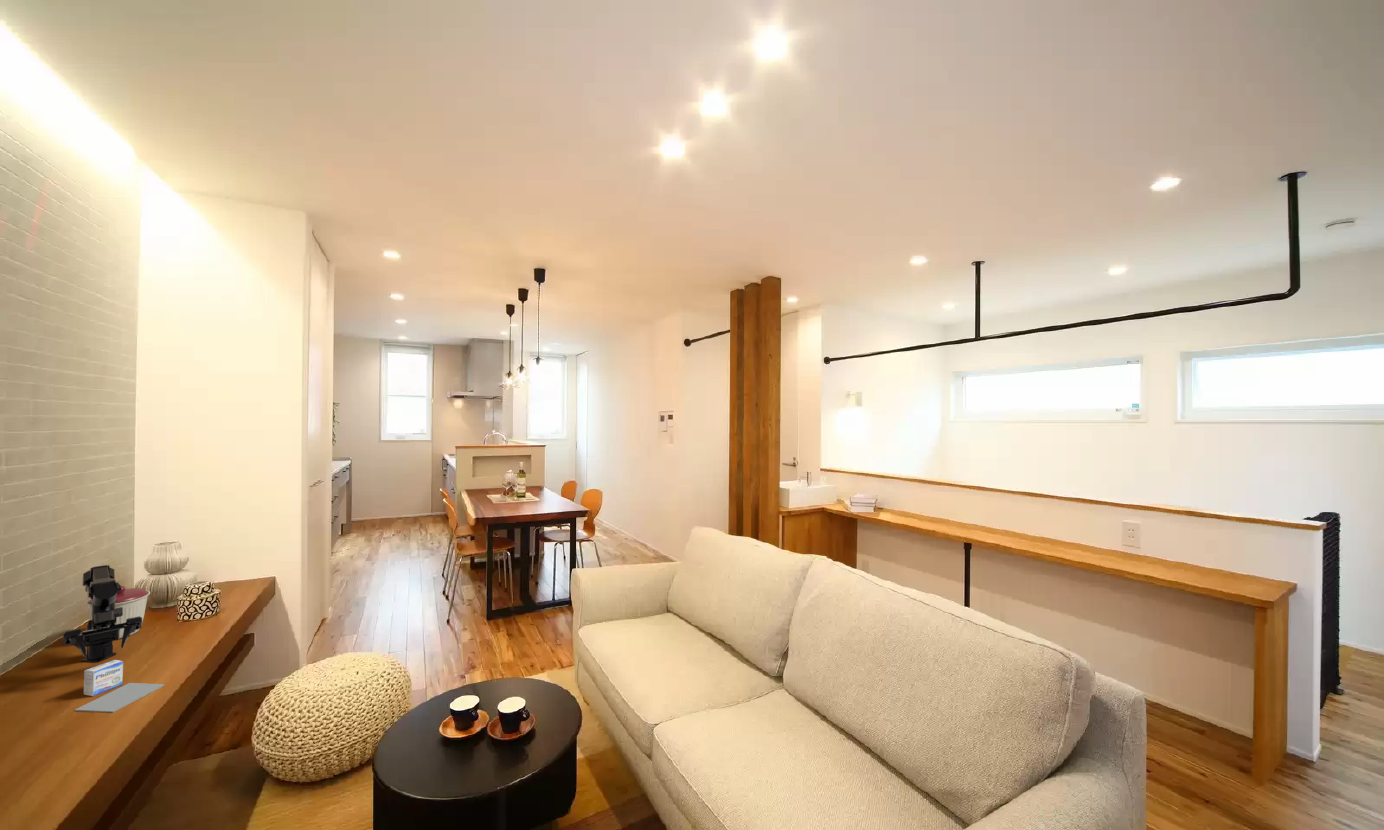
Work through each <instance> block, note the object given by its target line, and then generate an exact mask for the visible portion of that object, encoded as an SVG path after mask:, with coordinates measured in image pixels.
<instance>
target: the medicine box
mask: <svg viewBox="0 0 1384 830" xmlns="http://www.w3.org/2000/svg"><path fill="white" fill-rule="evenodd" d="M83 672H84V674H83V678H84V679H83V695H84V696H90V697H95V696H99V695H100V694H102V693H105V692H107V691H110V690H112V689H115V688H117V687H118V688H119V687H121V686H123V678H124V677H123V674H124V673H123V672H124V661H123V660H119V659H113V660H110V661H107V662H104V663H102V664H98V665H96V666H93V667H90V668H87V669H85V670H84V671H83Z"/></svg>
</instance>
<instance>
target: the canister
mask: <svg viewBox="0 0 1384 830" xmlns="http://www.w3.org/2000/svg"><path fill="white" fill-rule="evenodd" d="M150 594H151V591H150V590H148V589H144V588H140V587H138V588H137V587H136V588H132V587H131V588H130V587H129V588H126V586H123V585H121V590H120V591H119V592H118V593H117V596H116V600H115V609H116V608H120V607H123V615H122V616H121V617H116V624H121V623H126V619H129V618H134V617H139V616H140V617H142V623H143V621H144V618H145V614H146V613H145V611H146V607H147V602H148V596H149V595H150ZM85 605H86V606H87V607H88V615H89V616H88V617H89V621H90V620H92V601H91V599H90V598H89V599H88V600H86V601H85ZM142 626H143V624H142V625H141V627H142ZM138 631H140V629H138V630H135V632H133V633H131V634H130V635H129V636H132V635H134V634H135V633H137V632H138ZM123 632H124V628H123V629H120V631H119V638H118V639H119V640H120V639H122V638H123ZM118 639H117V640H118Z"/></svg>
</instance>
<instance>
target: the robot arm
mask: <svg viewBox="0 0 1384 830" xmlns="http://www.w3.org/2000/svg"><path fill="white" fill-rule="evenodd" d="M89 569H90V570H87V571H86V572H84V573H83V574H82V582H81V583H82V585H81V586H83V587H84V591H85V592H86V593H87V595H86V596H87V598H89V599H91V601H92V620H90V619H89V621H88V623H87V624H86V630H83V631H82V627H79V628H73V629H70V630H69V629H68V630H65V631H64V632H63V634H62V635H63V636H62V646H65V645H69V646H75V648H76V649H78V650H79V651H80V653H81V655H82V656H83V657H84V658H83V659H81V662H87V663H89V662H91V663H93V662H94V663H98V662H101V661H103V660H106V659H108V658H111V657H113V656H115V655H117V652H113V651H114V645H113V641H117V640H118V638H119V631H120V629H123V628H124V632H123V638H121V639H122V640H121V644H120V645H121V646H120V649H123V648H124V646H125V644H126V642H127V641H128V638H129V636H131V635H130V634H131V633H133V632H135V630H138V629H139V630H140V629H141V628H142V626H143V622H142V617H140V616H139V617H134V618H129V619H126V623H121V624H116V617H121V616H122V615H123V607H120V608H116V609H115V600H116V596H117V593H118V592H119V591H120V590H121V586H122V585H121V584H119V582H117V581H116V579H115V578H116V577H115V569H114V568H113V567H110V565H109V564H108V565H107V564H104V565H97V566H96V565H95V566H92V567H90V568H89ZM141 625H142V626H141ZM139 630H138V631H139Z"/></svg>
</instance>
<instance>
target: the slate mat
mask: <svg viewBox="0 0 1384 830" xmlns="http://www.w3.org/2000/svg"><path fill="white" fill-rule="evenodd" d="M163 687H165V684H163V683H161V684H160V683H144V682H143V683H142V682H141V683H140V682H139V683H138V682H128V683H127V684H124V685H121V686H119V687H118V688H116V689H114V690H112V691H110V692H108V693H106V694H104V695H102V696H100V697H98V698H96V699H94V700H92V701H90V702H88V703H85V704H84V705H82V706H79V707H77V708H75V709H74V712H89V713H90V712H91V713H92V712H95V713H112V714H113V713H116V711H119V710H121V709H123V708H124V707H126V706H129V705H131V704H132V703H134V702H136V701H137V700H140V699H142V698H143V697H145V696H147V695H149V694H152V693H153V692H155V691H157V690H159V689H161V688H163Z"/></svg>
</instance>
